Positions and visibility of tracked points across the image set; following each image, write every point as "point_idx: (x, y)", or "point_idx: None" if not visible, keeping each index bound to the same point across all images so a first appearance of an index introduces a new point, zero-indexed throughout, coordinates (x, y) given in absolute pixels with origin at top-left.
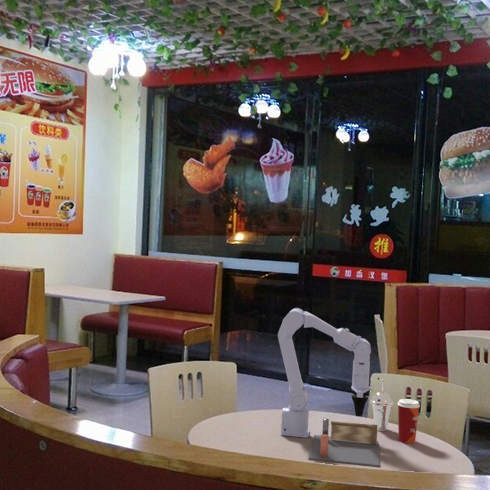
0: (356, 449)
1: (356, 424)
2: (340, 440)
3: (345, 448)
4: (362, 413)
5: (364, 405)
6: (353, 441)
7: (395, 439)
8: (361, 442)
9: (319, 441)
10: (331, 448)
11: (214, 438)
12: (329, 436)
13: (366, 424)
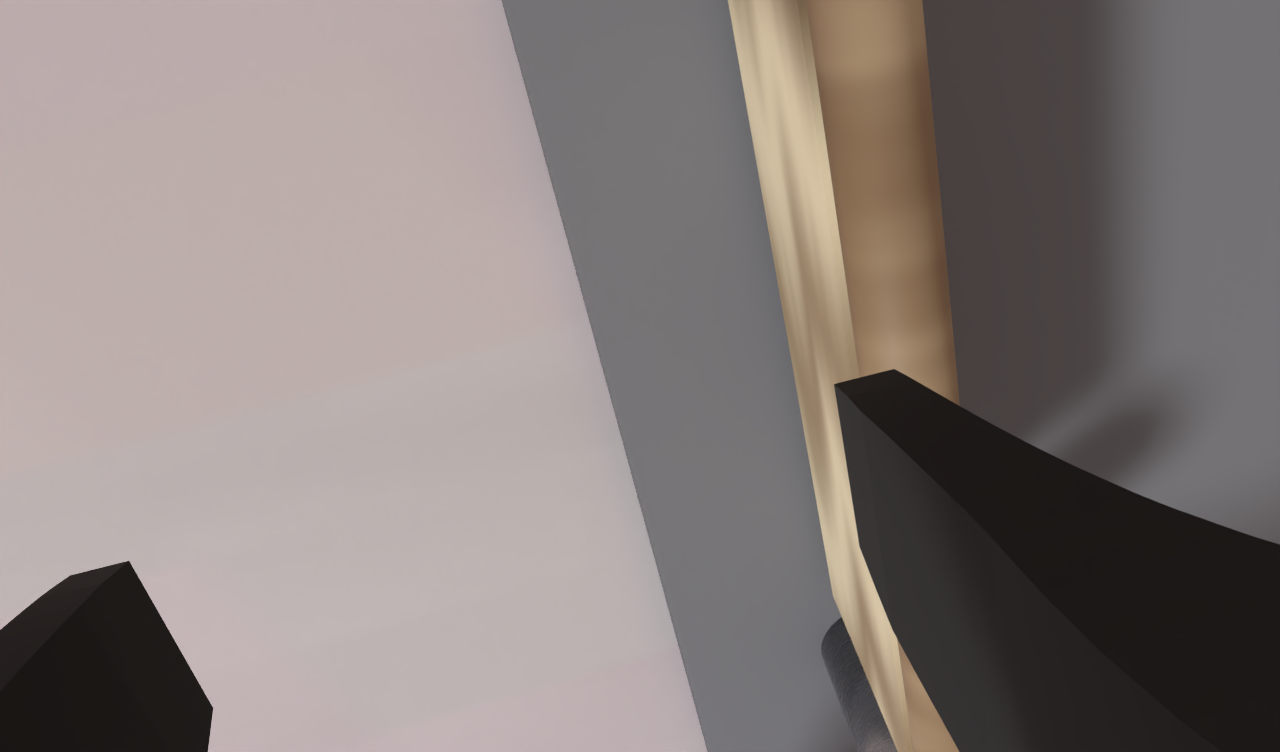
0: (1193, 85)
1: (950, 364)
2: (806, 455)
3: (1196, 270)
4: (954, 404)
5: (1272, 543)
6: (749, 258)
7: None
8: (740, 107)
9: None
10: (1257, 449)
11: None
12: (685, 641)
13: (904, 112)
